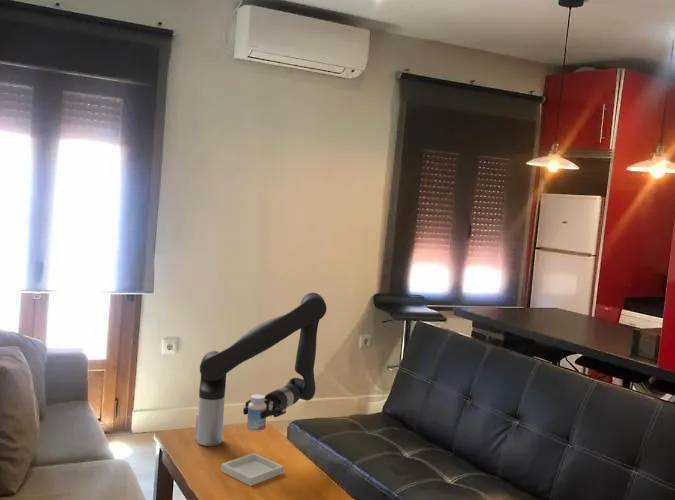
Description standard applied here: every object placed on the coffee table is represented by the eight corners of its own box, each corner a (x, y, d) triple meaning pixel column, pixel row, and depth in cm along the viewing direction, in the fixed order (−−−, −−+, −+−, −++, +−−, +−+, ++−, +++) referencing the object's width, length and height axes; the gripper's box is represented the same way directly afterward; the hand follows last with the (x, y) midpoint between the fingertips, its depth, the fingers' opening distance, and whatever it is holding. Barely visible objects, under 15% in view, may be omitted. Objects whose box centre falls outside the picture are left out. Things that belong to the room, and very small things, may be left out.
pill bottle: (262, 433, 228) (264, 400, 227) (244, 431, 229) (246, 398, 228) (267, 427, 234) (269, 394, 233) (250, 425, 235) (252, 392, 234)
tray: (221, 471, 232) (221, 463, 232) (253, 459, 243) (254, 453, 243) (250, 485, 222) (250, 478, 222) (283, 473, 233) (283, 466, 233)
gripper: (261, 386, 247) (235, 398, 232) (297, 393, 241) (272, 407, 226) (260, 406, 248) (234, 420, 232) (296, 415, 241) (271, 429, 226)
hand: (253, 413), depth 229 cm, fingers closed on pill bottle, 6 cm apart
